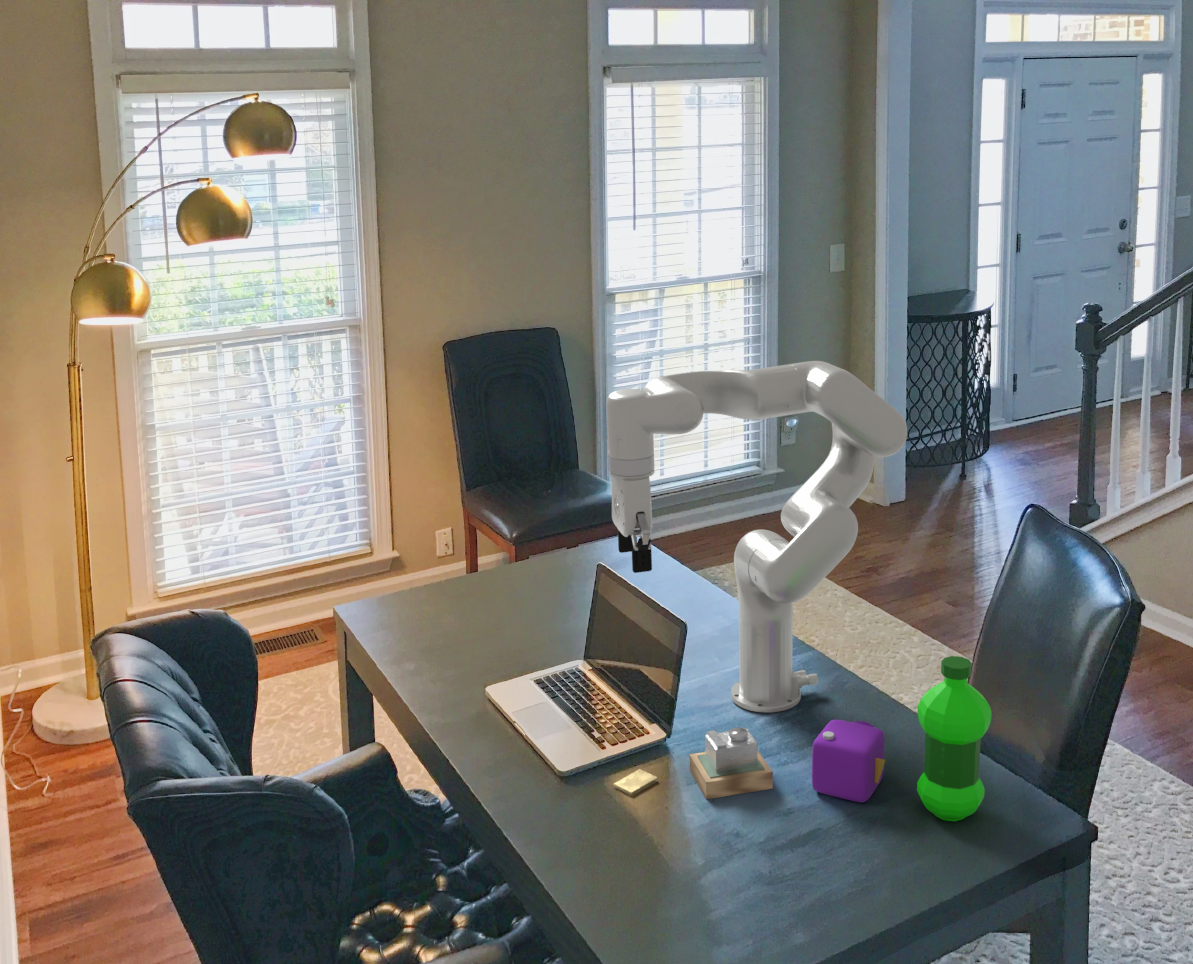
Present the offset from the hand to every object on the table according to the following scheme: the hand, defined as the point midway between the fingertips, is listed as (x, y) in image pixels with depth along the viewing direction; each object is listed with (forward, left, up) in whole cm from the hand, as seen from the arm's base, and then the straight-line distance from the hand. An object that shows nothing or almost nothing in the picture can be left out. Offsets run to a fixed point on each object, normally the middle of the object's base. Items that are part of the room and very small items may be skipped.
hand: (634, 561), depth 216 cm
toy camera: (-27, +29, -31) cm, 50 cm away
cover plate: (+6, +20, -31) cm, 37 cm away
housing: (-9, +23, -27) cm, 37 cm away
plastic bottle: (-38, +41, -31) cm, 64 cm away
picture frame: (-9, +23, -30) cm, 39 cm away
